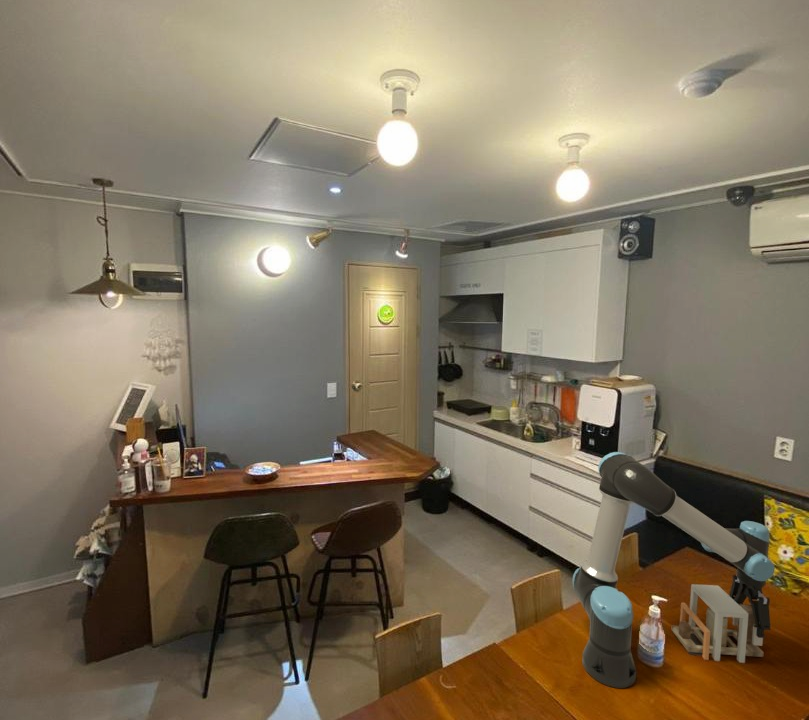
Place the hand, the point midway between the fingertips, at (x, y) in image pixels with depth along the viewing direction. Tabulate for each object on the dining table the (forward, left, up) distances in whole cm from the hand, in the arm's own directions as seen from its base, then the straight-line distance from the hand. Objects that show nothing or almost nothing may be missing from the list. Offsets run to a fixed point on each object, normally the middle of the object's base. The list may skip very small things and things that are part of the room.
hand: (746, 634), depth 145 cm
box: (-10, 0, -5) cm, 11 cm away
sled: (-10, 0, -4) cm, 11 cm away
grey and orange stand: (-11, 0, -4) cm, 12 cm away
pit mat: (-18, 0, -4) cm, 18 cm away
